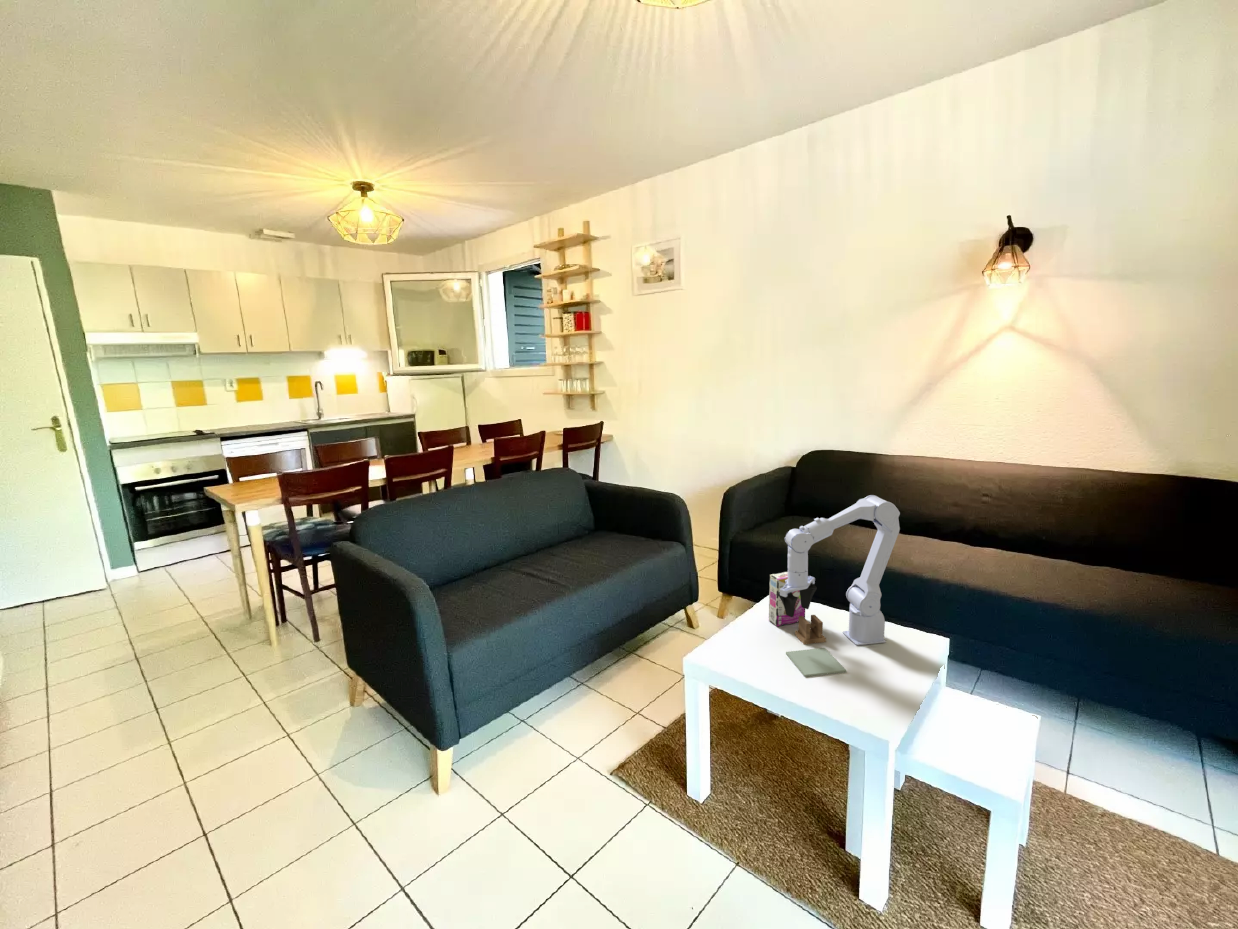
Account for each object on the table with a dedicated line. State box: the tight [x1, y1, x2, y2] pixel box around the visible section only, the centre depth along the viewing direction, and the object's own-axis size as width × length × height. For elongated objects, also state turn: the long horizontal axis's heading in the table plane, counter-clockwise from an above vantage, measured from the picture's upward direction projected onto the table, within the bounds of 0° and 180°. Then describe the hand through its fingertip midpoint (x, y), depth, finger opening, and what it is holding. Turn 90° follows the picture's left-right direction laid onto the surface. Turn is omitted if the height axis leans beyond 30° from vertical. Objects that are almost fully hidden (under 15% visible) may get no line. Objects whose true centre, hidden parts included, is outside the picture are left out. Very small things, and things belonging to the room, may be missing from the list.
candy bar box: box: [768, 571, 806, 627], centre depth 172 cm, size 11×5×16 cm, turn 108°
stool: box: [794, 614, 827, 645], centre depth 161 cm, size 7×6×6 cm
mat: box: [785, 647, 848, 678], centre depth 149 cm, size 12×12×1 cm
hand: (797, 611), depth 158 cm, fingers open, 7 cm apart
